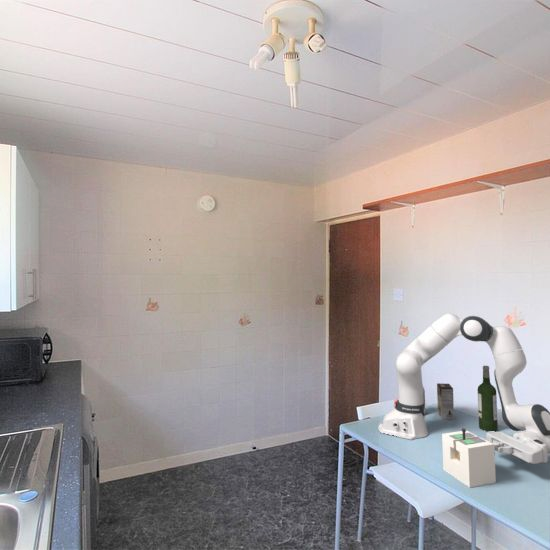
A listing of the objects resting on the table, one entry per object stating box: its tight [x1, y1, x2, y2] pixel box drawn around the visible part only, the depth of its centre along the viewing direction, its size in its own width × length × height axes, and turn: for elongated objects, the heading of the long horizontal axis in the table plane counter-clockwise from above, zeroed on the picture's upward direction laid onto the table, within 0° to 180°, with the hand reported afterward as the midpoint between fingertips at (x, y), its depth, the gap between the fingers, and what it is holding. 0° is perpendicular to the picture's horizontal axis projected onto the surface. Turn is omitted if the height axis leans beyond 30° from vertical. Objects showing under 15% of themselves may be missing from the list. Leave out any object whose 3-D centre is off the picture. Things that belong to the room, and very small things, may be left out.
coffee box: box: [436, 382, 455, 420], centre depth 194 cm, size 9×6×16 cm
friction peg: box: [456, 427, 495, 460], centre depth 135 cm, size 12×6×12 cm, turn 105°
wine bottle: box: [477, 365, 499, 432], centre depth 176 cm, size 8×8×30 cm
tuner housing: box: [441, 429, 497, 489], centre depth 134 cm, size 11×13×14 cm
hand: (496, 449), depth 137 cm, fingers closed
